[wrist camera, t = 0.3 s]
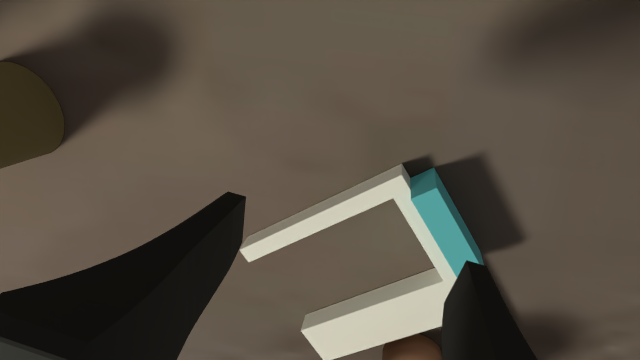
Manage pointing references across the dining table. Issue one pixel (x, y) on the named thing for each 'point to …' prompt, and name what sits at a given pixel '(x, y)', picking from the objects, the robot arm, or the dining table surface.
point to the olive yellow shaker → (27, 116)
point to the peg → (412, 349)
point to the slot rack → (393, 299)
